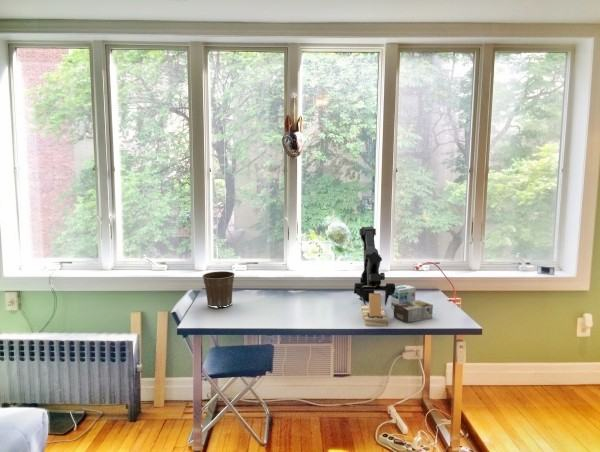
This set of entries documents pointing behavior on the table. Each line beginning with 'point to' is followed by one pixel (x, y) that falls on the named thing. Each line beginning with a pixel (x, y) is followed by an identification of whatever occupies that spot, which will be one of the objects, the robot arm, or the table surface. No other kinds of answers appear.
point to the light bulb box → (403, 295)
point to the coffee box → (413, 311)
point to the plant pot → (219, 288)
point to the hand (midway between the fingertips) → (375, 304)
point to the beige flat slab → (373, 317)
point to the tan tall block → (374, 305)
